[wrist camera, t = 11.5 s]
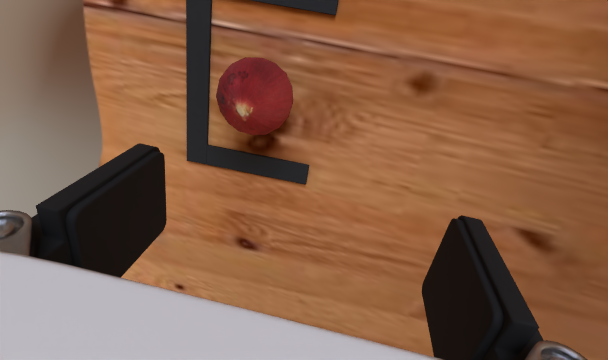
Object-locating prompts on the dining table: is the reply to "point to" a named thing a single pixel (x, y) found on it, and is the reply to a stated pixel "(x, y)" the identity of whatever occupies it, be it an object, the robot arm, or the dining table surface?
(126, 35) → the dining table surface
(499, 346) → the robot arm
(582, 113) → the dining table surface
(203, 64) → the bay
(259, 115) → the onion
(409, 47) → the dining table surface
